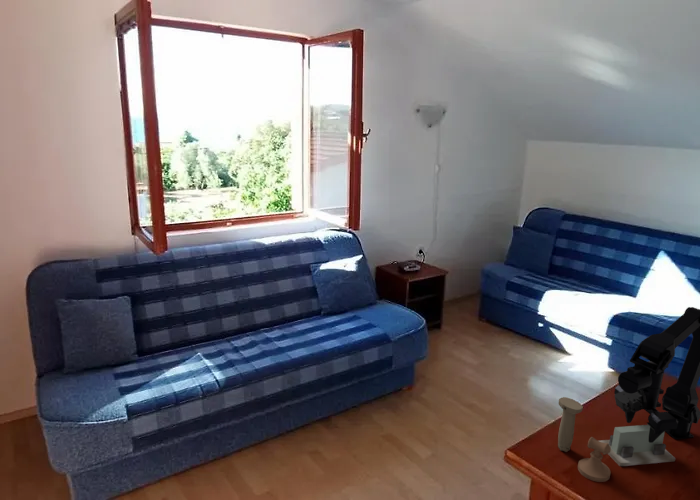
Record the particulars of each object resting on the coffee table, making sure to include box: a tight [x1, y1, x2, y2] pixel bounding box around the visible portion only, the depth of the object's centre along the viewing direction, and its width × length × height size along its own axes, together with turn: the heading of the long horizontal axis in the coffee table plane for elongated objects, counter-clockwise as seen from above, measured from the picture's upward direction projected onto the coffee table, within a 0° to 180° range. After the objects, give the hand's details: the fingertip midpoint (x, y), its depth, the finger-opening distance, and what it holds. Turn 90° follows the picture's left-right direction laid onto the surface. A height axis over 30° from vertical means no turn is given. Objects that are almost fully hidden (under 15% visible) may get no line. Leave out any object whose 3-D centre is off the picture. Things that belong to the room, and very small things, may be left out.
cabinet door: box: [611, 424, 666, 454], centre depth 148 cm, size 14×2×7 cm, turn 98°
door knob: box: [577, 436, 612, 483], centre depth 140 cm, size 8×10×8 cm
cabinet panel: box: [599, 434, 676, 467], centre depth 149 cm, size 17×10×4 cm, turn 99°
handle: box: [557, 396, 584, 453], centre depth 148 cm, size 5×6×15 cm
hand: (639, 432), depth 148 cm, fingers open, 9 cm apart
